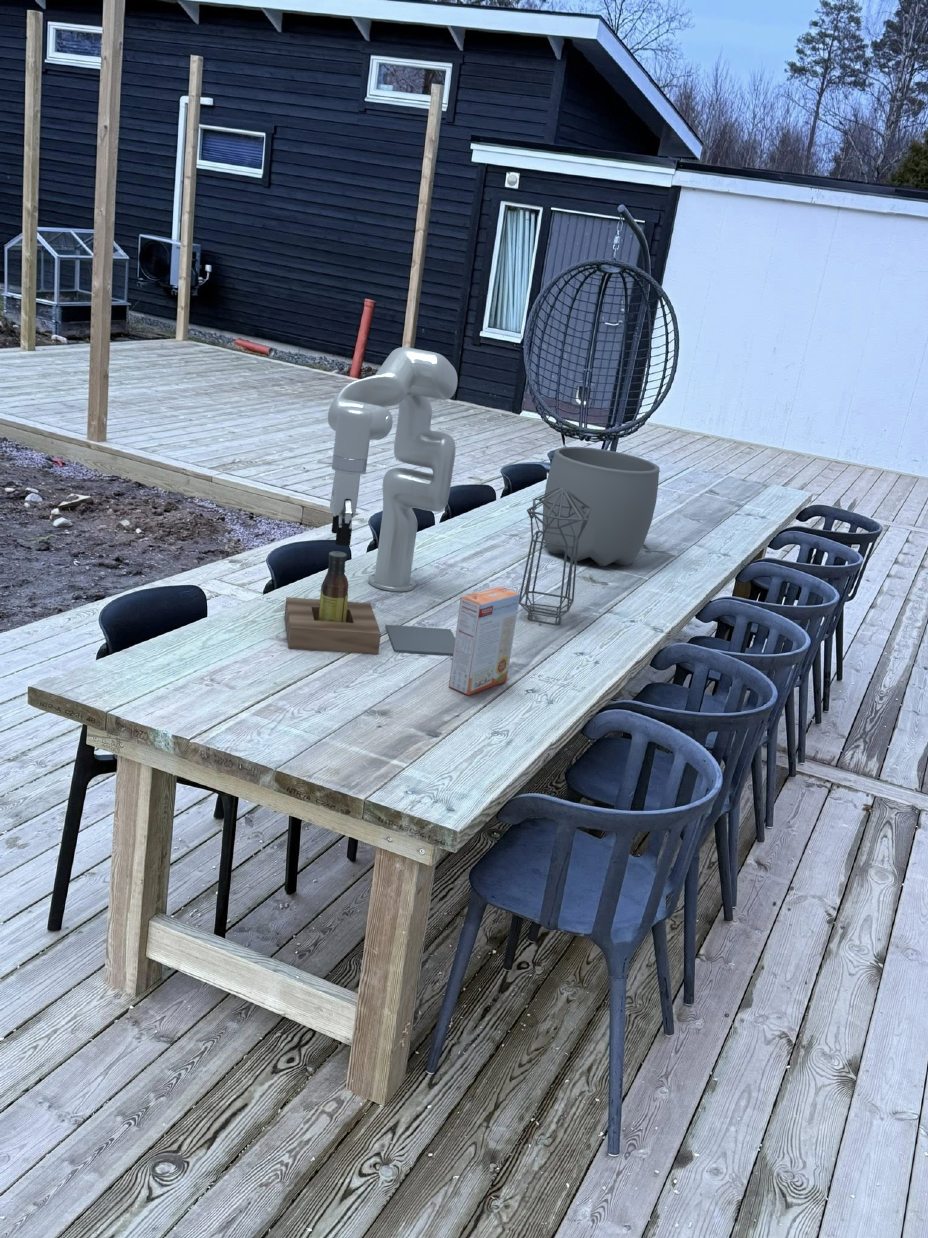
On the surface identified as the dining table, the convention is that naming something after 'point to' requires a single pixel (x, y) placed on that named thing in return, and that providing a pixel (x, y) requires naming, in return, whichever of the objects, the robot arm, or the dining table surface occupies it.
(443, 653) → the rubber mat
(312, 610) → the holder block
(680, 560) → the dining table surface
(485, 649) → the cracker box
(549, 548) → the planter pot
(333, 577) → the sauce bottle
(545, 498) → the geometric lantern
